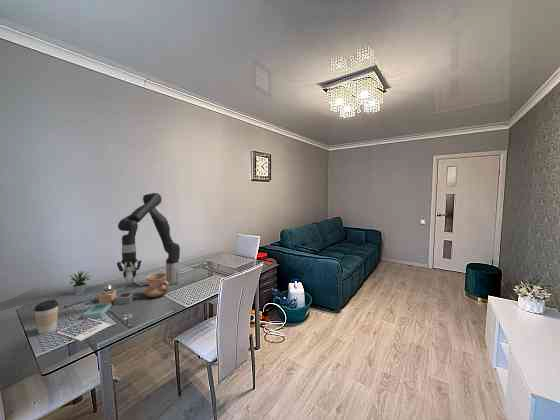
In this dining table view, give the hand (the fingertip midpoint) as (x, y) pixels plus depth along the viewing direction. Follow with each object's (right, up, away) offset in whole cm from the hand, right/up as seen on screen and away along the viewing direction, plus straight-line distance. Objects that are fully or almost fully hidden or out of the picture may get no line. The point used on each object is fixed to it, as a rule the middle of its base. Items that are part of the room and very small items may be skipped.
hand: (129, 276), depth 147 cm
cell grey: (-18, -17, +5) cm, 26 cm away
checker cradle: (-7, -18, +7) cm, 21 cm away
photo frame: (-7, -21, -26) cm, 34 cm away
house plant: (-47, -17, +15) cm, 52 cm away
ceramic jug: (+9, -18, +16) cm, 26 cm away
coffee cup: (-25, -20, -28) cm, 42 cm away
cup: (-18, -18, +5) cm, 26 cm away
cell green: (0, -3, 0) cm, 3 cm away
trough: (-13, -19, -9) cm, 25 cm away
